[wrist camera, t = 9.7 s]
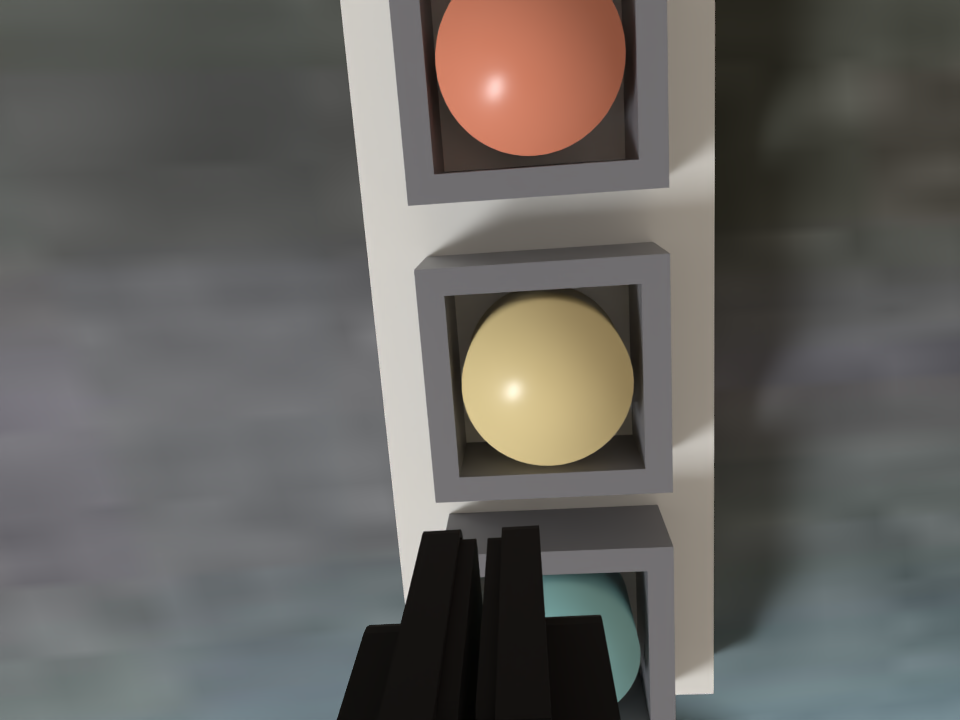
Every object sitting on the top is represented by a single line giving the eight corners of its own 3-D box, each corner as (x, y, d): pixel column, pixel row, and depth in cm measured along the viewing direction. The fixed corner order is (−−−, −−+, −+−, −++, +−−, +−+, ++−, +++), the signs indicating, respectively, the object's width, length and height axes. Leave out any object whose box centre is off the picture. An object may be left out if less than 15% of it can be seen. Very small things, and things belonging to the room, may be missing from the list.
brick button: (439, -14, 23) (427, -38, 20) (610, -29, 23) (623, -56, 20) (452, 161, 24) (443, 162, 22) (615, 149, 24) (628, 148, 21)
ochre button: (462, 288, 25) (455, 306, 23) (619, 279, 25) (631, 295, 22) (474, 435, 27) (468, 469, 24) (623, 427, 26) (635, 461, 23)
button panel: (348, -43, 25) (307, -90, 20) (700, -76, 24) (743, -133, 20) (422, 667, 32) (403, 760, 27) (701, 659, 31) (734, 753, 26)
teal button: (482, 542, 28) (478, 588, 25) (626, 537, 27) (638, 582, 24) (492, 666, 29) (488, 723, 26) (630, 662, 29) (642, 720, 26)
